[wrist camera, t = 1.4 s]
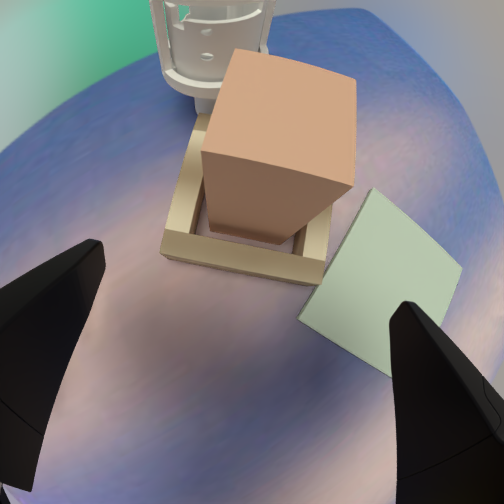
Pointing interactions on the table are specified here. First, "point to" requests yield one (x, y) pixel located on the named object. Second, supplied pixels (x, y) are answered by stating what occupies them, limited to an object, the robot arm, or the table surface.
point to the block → (277, 146)
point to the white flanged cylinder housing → (207, 42)
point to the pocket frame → (229, 253)
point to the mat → (379, 281)
